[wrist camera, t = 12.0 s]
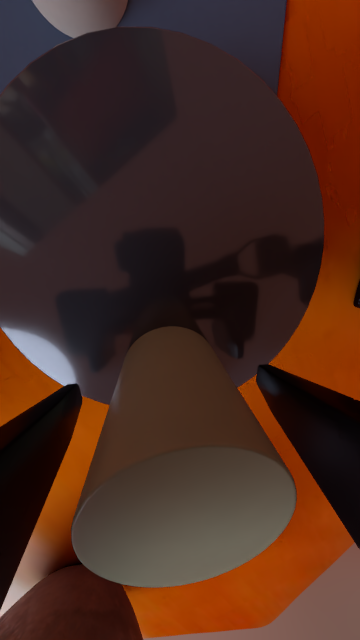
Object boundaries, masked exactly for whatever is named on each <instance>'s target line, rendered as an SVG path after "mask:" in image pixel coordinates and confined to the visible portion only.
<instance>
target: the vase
mask: <svg viewBox="0 0 360 640" xmlns="http://www.w3.org/2000/svg"><path fill="white" fill-rule="evenodd" d="M0 640H143V638H142V634H141V631H140V628H139V624H138V621H137V618H136V615H135V613H134V610H133V607H132V605H131V603H130V601H129V598H128V596H127V594H126V592H125V591H124V589H123V587H122V585H121V584H120V583H116V582H113V581H110V580H107V579H105V578H103V577H100V576H99V575H97V574H95V573H93V572H92V571H90V570H89V569H88V568H87V567H85V566H84V565H74V566H69V567H65V568H62V569H60V570H58V571H56V572H54V573H52V574H50V575H48V576H47V577H45V578H44V579H42V580H41V581H40V582H39V583H37V584H36V585H35V586H34V587H33V588H32V589H30V590H29V591H28V592H27V593H26V594H25V595H24V596H22V597H21V598H20V599H19V600H18V601H17V602H16V603H15V604H14V605H13V606H12V607H11V608H10V609H9V610H8V611H7V612H6V613H4V614H3V615H2V616H1V618H0Z"/></svg>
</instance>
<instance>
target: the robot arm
mask: <svg viewBox="0 0 360 640" xmlns="http://www.w3.org/2000/svg"><path fill="white" fill-rule="evenodd" d="M354 306H355V307H357V308H360V281H359V285H358V288H357V292H356V296H355V299H354ZM256 382H257V385H258V387H259V389H260V391H261V393H262V394H263V396H264V398H265V400H266V402H267V404H268V406H269V408H270V410H271V412H272V413H273V415H274V417H275V418H276V420H277V422H278V423H279V425H280V426H281V428H282V429H283V431H284V432H285V434H286V436H287V437H288V439H289V440H290V442H291V443H292V445H293V446H294V448H295V450H296V451H297V453H298V454H299V456H300V457H301V459H302V461H303V462H304V464H305V465H306V467H307V468H308V470H309V471H310V473H311V475H312V476H313V478H314V479H315V481H316V482H317V484H318V485H319V487H320V489H321V490H322V492H323V493H324V495H325V496H326V498H327V500H328V501H329V503H330V504H331V506H332V507H333V509H334V510H335V512H336V514H337V515H338V517H339V518H340V520H341V521H342V523H343V525H344V526H345V528H346V529H347V531H348V532H349V534H350V535H351V537H352V539H353V540H354V542H355V543H356V545H357V546H358V548H359V549H360V401H358V400H354V399H353V398H351V397H348V396H346V395H343V394H341V393H338V392H336V391H333V390H331V389H328V388H326V387H323V386H321V385H318V384H316V383H313V382H311V381H308V380H306V379H303V378H301V377H298V376H296V375H293V374H291V373H288V372H286V371H283V370H281V369H278V368H276V367H273V366H271V365H268V364H262V365H259V366H258V368H257V376H256ZM81 405H82V396H81V392H80V388H79V385H78V384H77V383H75V384H67V385H65V386H64V387H62V388H61V389H59V390H58V391H56V392H54V393H53V394H51V395H50V396H48V397H47V398H45V399H43V400H42V401H40V402H39V403H37V404H36V405H34V406H32V407H31V408H29V409H28V410H26V411H25V412H23V413H21V414H20V415H18V416H17V417H15V418H14V419H12V420H10V421H9V422H7V423H6V424H4V425H3V426H1V427H0V609H1V607H2V605H3V602H4V600H5V597H6V595H7V593H8V590H9V588H10V585H11V583H12V581H13V578H14V576H15V573H16V571H17V569H18V566H19V564H20V561H21V559H22V557H23V554H24V552H25V549H26V547H27V544H28V542H29V540H30V537H31V535H32V532H33V530H34V528H35V525H36V523H37V520H38V518H39V516H40V513H41V511H42V508H43V506H44V504H45V501H46V499H47V496H48V494H49V492H50V489H51V487H52V484H53V482H54V479H55V477H56V475H57V472H58V470H59V467H60V465H61V463H62V460H63V458H64V455H65V453H66V451H67V448H68V446H69V443H70V441H71V438H72V435H73V432H74V428H75V425H76V422H77V419H78V415H79V412H80V409H81Z"/></svg>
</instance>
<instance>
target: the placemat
mask: <svg viewBox="0 0 360 640" xmlns="http://www.w3.org/2000/svg"><path fill="white" fill-rule="evenodd" d="M286 1H287V0H128V2H127V6H126V9H125V12H124V14H123V17H122V18H121V20H120V22H119V24H118V25H117V26H116V27H156V28H161V29H166V30H171V31H176V32H182V33H185V34H187V35H190V36H192V37H195V38H198V39H200V40H203V41H205V42H208V43H211V44H213V45H214V46H216V47H218V48H219V49H221V50H223V51H225V52H226V53H228V54H230V55H231V56H233V57H235V58H236V59H238V60H239V61H241V62H242V63H243V64H244V65H245V66H247V67H248V68H249V69H250V70H251V71H253V72H254V73H255V74H256V75H257V76H259V77H260V78H261V79H262V80H263V81H264V82H265V83H266V85H267V86H268V87H269V88H270V89H271V90H272V91H273V92H274V94H275V95H276V96H277V90H278V80H279V70H280V61H281V51H282V41H283V31H284V21H285V11H286ZM70 39H73V38H72V37H70V36H68V35H66V34H64V33H62V32H61V31H59V30H58V29H57V28H55V27H54V26H53V25H52V24H51V23H50V22H49V21H48V20H47V19H46V18H45V17H44V16H43V15H42V14H41V13H40V11H39V10H38V9H37V7H36V6H35V5H34V3H33V1H32V0H0V94H1V93H2V92H3V90H4V89H5V87H6V86H7V85H8V84H9V83H10V82H11V81H12V80H13V79H14V78H15V77H16V76H17V75H18V74H19V73H20V72H21V71H22V70H23V69H24V68H25V67H26V66H27V65H28V64H29V63H30V62H32V61H33V60H35V59H36V58H38V57H40V56H41V55H43V54H44V53H46V52H47V51H49V50H50V49H52V48H53V47H55V46H56V45H58V44H61V43H63V42H65V41H68V40H70Z"/></svg>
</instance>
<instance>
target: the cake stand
mask: <svg viewBox="0 0 360 640" xmlns="http://www.w3.org/2000/svg"><path fill="white" fill-rule="evenodd" d="M323 246H324V214H323V202H322V195H321V190H320V185H319V180H318V176H317V172H316V169H315V166H314V163H313V160H312V157H311V154H310V151H309V149H308V147H307V145H306V142H305V140H304V138H303V136H302V134H301V132H300V130H299V128H298V126H297V124H296V123H295V121H294V120H293V118H292V117H291V115H290V114H289V112H288V111H287V109H286V108H285V106H284V105H283V103H282V101H281V100H280V99H279V98H278V97H277V96H276V95H275V94H274V92H273V91H272V90H271V89H270V88H269V87H268V86H267V85H266V83H265V82H264V81H263V80H262V79H261V78H260V77H259V76H257V75H256V74H255V73H254V72H253V71H251V70H250V69H249V68H248V67H247V66H245V65H244V64H243V63H242V62H241V61H239V60H238V59H236V58H235V57H233V56H231V55H230V54H228V53H226V52H225V51H223V50H221V49H219V48H218V47H216V46H214V45H213V44H211V43H208V42H205V41H203V40H200V39H198V38H195V37H192V36H190V35H187V34H185V33H182V32H176V31H171V30H166V29H161V28H156V27H114V28H109V29H104V30H99V31H93V32H88V33H85V34H83V35H80V36H78V37H75V38H73V39H70V40H68V41H65V42H63V43H61V44H58V45H56V46H55V47H53V48H52V49H50V50H49V51H47V52H46V53H44V54H43V55H41V56H40V57H38V58H36V59H35V60H33V61H32V62H30V63H29V64H28V65H27V66H26V67H25V68H24V69H23V70H22V71H21V72H20V73H19V74H18V75H17V76H16V77H15V78H14V79H13V80H12V81H11V82H10V83H9V84H8V85H7V86H6V87H5V89H4V90H3V92H2V93H1V94H0V328H1V329H2V330H3V332H4V333H5V334H6V335H7V337H8V338H9V339H10V340H11V342H12V343H13V344H14V345H15V347H16V348H17V349H18V350H19V351H20V352H21V353H22V354H23V355H24V356H25V357H26V358H27V359H28V360H29V361H30V362H31V363H32V364H34V365H35V366H36V367H37V368H39V369H40V370H41V371H42V372H44V373H45V374H46V375H47V376H49V377H50V378H52V379H53V380H55V381H57V382H58V383H60V384H61V385H63V386H65V385H67V384H75V383H77V384H78V385H79V388H80V392H81V395H82V396H84V397H87V398H90V399H93V400H95V401H98V402H101V403H104V404H108V405H110V403H111V400H112V397H113V394H114V391H115V387H116V384H117V381H118V378H119V375H120V372H121V369H122V366H123V363H124V359H125V357H126V354H127V352H128V350H129V349H130V347H131V346H132V345H133V343H134V342H135V341H136V340H137V339H138V338H140V337H141V336H143V335H144V334H146V333H148V332H149V331H152V330H154V329H158V328H161V327H168V326H176V327H183V328H187V329H190V330H192V331H194V332H196V333H198V334H200V335H201V336H202V337H203V338H204V339H205V340H206V341H207V342H208V343H209V344H210V346H211V347H212V349H213V350H214V352H215V354H216V355H217V357H218V358H219V360H220V362H221V363H222V365H223V366H224V368H225V370H226V371H227V373H228V374H229V376H230V378H231V379H232V381H233V382H234V384H235V385H236V387H239V386H240V385H242V384H243V383H245V382H246V381H248V380H249V379H251V378H252V377H254V376H255V375H256V374H257V368H258V366H259V365H262V364H269V363H270V362H271V361H272V360H273V358H274V357H275V356H276V355H277V354H278V353H279V352H280V351H281V349H282V348H283V347H284V346H285V345H286V343H287V342H288V341H289V339H290V338H291V336H292V335H293V333H294V332H295V330H296V329H297V327H298V325H299V324H300V322H301V320H302V318H303V316H304V314H305V312H306V310H307V308H308V305H309V303H310V300H311V298H312V295H313V292H314V290H315V286H316V283H317V279H318V275H319V271H320V267H321V260H322V253H323Z"/></svg>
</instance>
